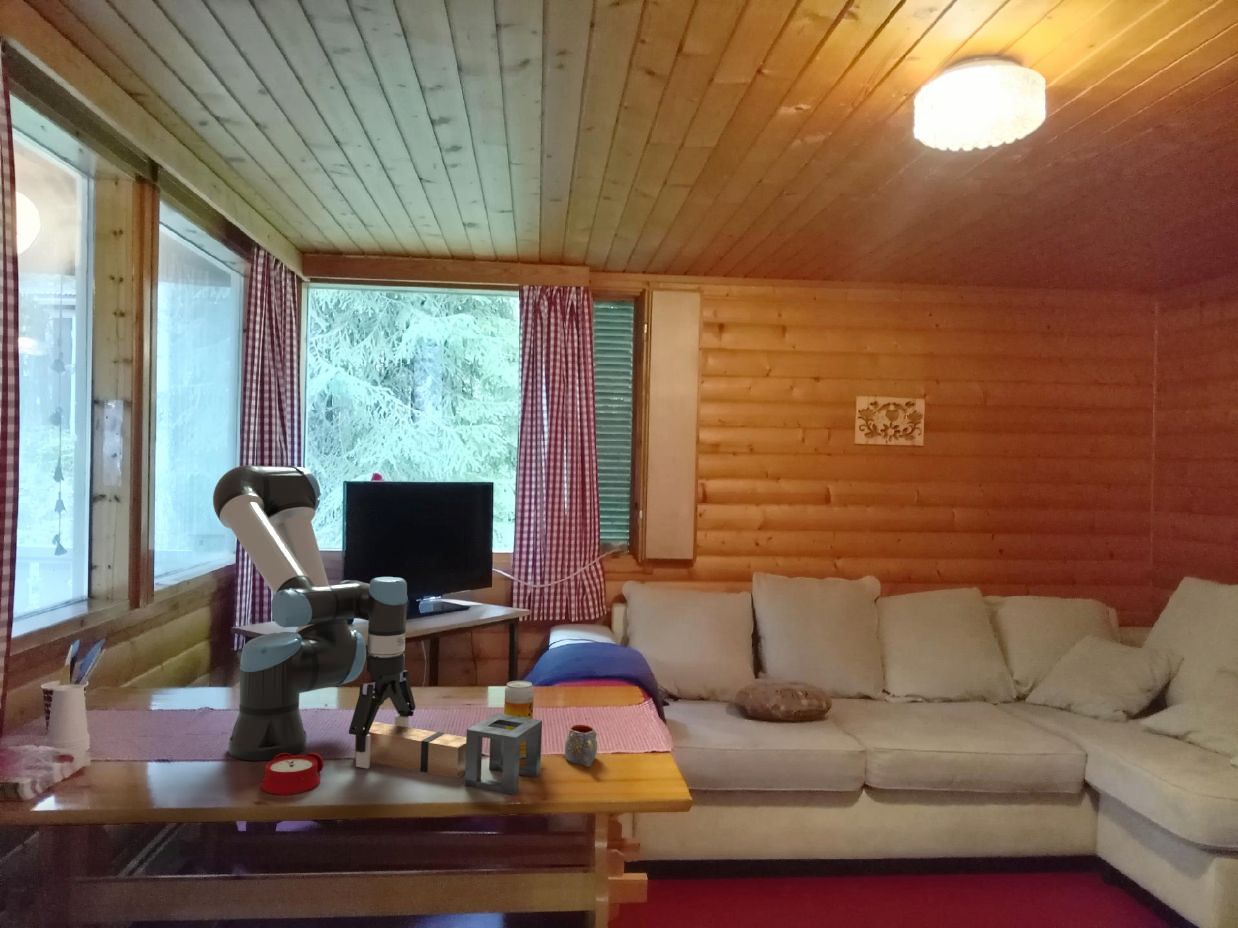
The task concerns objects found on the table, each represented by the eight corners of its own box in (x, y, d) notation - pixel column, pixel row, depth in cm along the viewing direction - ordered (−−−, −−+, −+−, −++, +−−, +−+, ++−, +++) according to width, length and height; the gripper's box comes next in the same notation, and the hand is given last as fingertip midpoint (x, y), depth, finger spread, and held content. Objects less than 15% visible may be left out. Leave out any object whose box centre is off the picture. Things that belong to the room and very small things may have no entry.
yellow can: (526, 760, 178) (528, 688, 178) (498, 757, 179) (501, 686, 179) (534, 750, 184) (537, 681, 184) (507, 747, 185) (510, 678, 185)
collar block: (464, 785, 163) (466, 729, 163) (493, 765, 174) (495, 712, 174) (513, 794, 159) (516, 737, 159) (540, 773, 170) (542, 720, 170)
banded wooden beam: (354, 758, 175) (355, 729, 175) (372, 749, 181) (373, 720, 181) (456, 778, 167) (458, 746, 167) (472, 767, 172) (473, 737, 172)
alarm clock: (253, 778, 153) (274, 733, 168) (253, 809, 155) (275, 762, 169) (313, 778, 155) (329, 733, 169) (313, 808, 156) (329, 761, 171)
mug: (561, 754, 183) (562, 723, 183) (593, 752, 184) (593, 721, 184) (571, 775, 171) (572, 741, 171) (605, 772, 173) (606, 740, 173)
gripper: (364, 668, 163) (360, 779, 163) (434, 643, 186) (430, 741, 186) (332, 663, 166) (328, 773, 166) (404, 639, 189) (401, 736, 189)
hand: (382, 756), depth 176 cm, fingers open, 12 cm apart
